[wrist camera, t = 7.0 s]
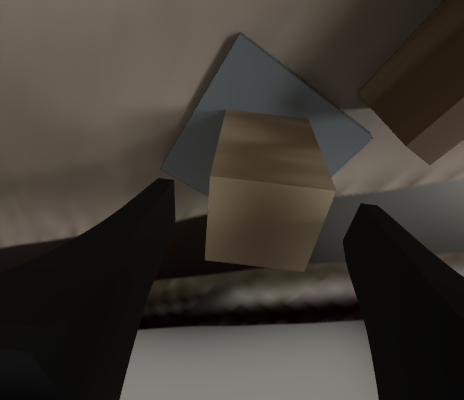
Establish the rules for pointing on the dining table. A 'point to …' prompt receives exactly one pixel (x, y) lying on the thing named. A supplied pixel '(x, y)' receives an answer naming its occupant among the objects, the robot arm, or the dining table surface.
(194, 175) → the mat
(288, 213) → the oak block
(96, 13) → the dining table surface
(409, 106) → the brown wooden arch
